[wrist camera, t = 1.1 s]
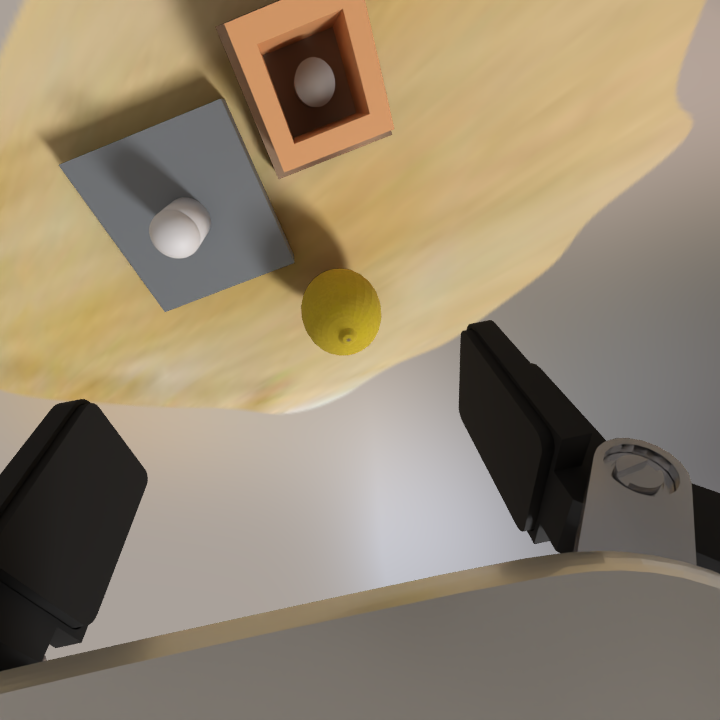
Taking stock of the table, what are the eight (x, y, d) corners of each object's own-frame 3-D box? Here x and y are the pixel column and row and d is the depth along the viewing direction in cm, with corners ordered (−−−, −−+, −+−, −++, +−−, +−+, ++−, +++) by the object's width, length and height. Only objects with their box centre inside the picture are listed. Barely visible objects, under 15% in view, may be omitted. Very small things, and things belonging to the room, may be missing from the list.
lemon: (293, 312, 30) (295, 369, 24) (308, 246, 28) (314, 289, 21) (358, 324, 32) (377, 381, 25) (378, 263, 29) (405, 308, 23)
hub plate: (224, 98, 22) (205, 96, 17) (294, 255, 28) (295, 289, 23) (70, 161, 23) (6, 177, 17) (170, 303, 28) (144, 346, 23)
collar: (344, -6, 19) (357, -33, 16) (377, 125, 23) (394, 129, 19) (236, 39, 20) (224, 23, 16) (284, 162, 23) (284, 172, 19)
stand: (349, -23, 20) (362, -52, 16) (386, 133, 24) (404, 137, 21) (219, 31, 20) (204, 14, 17) (279, 175, 25) (277, 187, 21)
